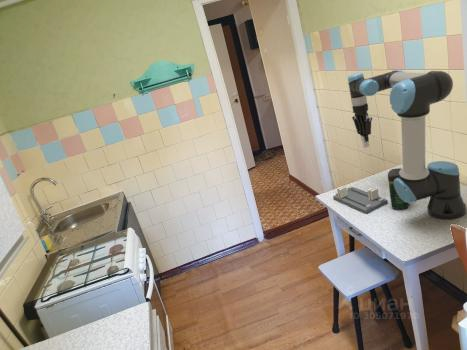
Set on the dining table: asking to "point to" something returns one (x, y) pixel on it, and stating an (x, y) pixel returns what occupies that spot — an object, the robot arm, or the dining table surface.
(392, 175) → the coffee jar
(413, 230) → the dining table surface
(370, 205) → the console
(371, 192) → the fader
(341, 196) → the fader
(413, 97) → the robot arm
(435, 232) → the dining table surface
